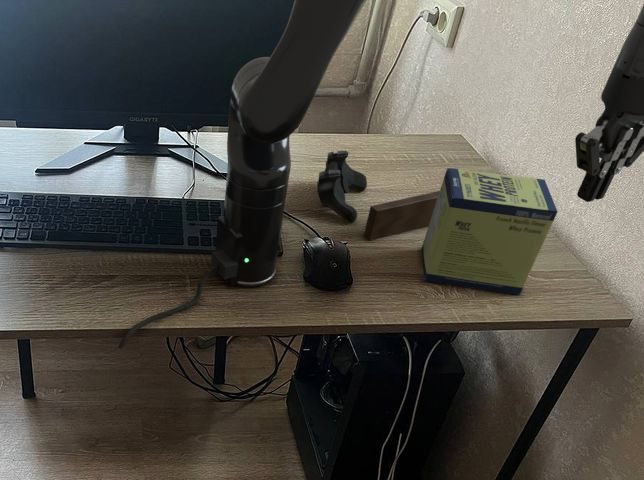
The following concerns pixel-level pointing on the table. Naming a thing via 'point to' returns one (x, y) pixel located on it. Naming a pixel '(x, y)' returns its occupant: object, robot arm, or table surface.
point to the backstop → (400, 216)
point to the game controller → (339, 184)
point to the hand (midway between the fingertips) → (589, 197)
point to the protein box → (487, 230)
